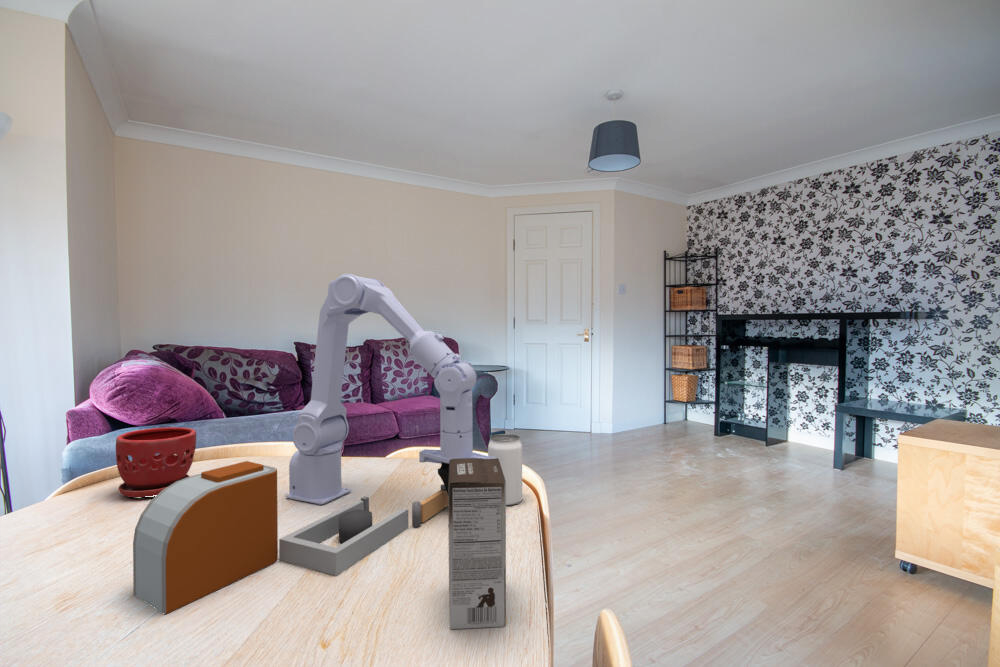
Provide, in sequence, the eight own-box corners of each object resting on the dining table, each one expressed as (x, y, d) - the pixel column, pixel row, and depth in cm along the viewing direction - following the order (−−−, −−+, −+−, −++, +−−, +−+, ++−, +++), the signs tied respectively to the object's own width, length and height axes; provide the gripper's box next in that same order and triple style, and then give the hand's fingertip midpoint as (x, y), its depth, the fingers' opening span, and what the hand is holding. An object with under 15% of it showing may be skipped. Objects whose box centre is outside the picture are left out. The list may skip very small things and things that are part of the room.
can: (519, 507, 84) (519, 441, 84) (484, 505, 85) (484, 440, 85) (524, 495, 90) (524, 434, 90) (492, 493, 91) (492, 432, 91)
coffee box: (449, 584, 58) (449, 457, 58) (500, 582, 59) (499, 456, 59) (447, 631, 49) (446, 481, 49) (507, 627, 50) (506, 479, 50)
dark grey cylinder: (331, 542, 71) (331, 519, 71) (355, 529, 75) (354, 507, 75) (356, 548, 68) (356, 525, 68) (379, 534, 73) (378, 512, 73)
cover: (443, 503, 85) (443, 483, 85) (450, 504, 85) (449, 484, 85) (410, 525, 76) (410, 502, 76) (417, 527, 75) (417, 504, 75)
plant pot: (115, 508, 84) (114, 443, 84) (117, 489, 94) (116, 431, 94) (200, 492, 92) (199, 433, 92) (193, 476, 103) (192, 423, 103)
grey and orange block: (249, 545, 69) (248, 455, 69) (284, 559, 65) (283, 463, 65) (131, 594, 57) (130, 484, 57) (165, 615, 52) (164, 496, 52)
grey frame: (279, 560, 65) (279, 537, 65) (364, 514, 81) (364, 496, 81) (336, 575, 61) (336, 551, 61) (413, 524, 77) (413, 504, 77)
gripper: (502, 428, 83) (503, 504, 83) (433, 422, 88) (434, 493, 89) (485, 437, 76) (486, 518, 76) (412, 429, 82) (412, 505, 82)
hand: (456, 506), depth 82 cm, fingers closed
